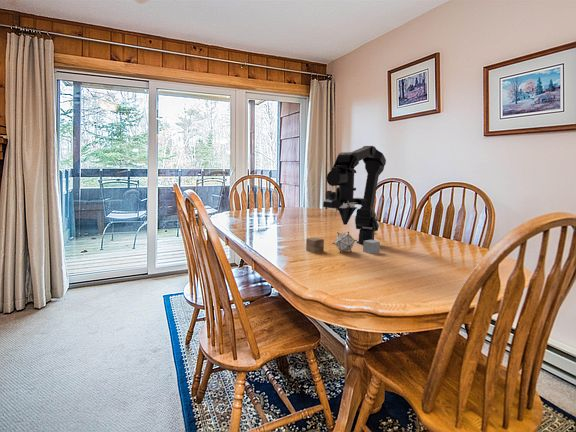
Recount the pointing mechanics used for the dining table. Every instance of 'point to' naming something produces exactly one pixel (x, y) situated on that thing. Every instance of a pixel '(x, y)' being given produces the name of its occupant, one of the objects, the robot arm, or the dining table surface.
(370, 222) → the robot arm
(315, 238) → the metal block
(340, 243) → the game die
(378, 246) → the slate block
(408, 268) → the dining table surface
